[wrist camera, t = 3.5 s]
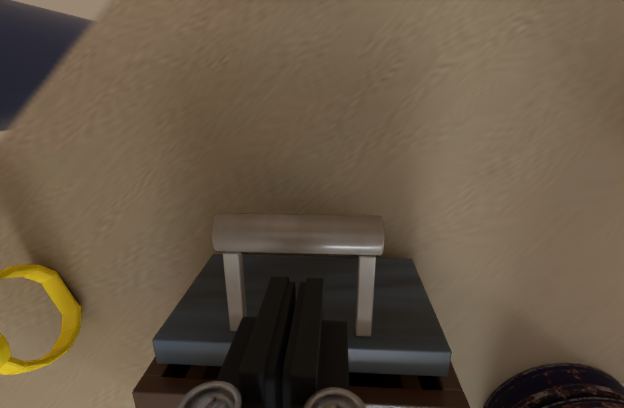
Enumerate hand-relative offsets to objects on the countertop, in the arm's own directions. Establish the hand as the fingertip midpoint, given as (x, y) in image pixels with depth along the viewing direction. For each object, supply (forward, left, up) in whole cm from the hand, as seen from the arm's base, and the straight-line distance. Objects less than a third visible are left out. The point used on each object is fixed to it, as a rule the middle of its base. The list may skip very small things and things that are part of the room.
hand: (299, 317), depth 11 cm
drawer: (0, -6, -9) cm, 11 cm away
